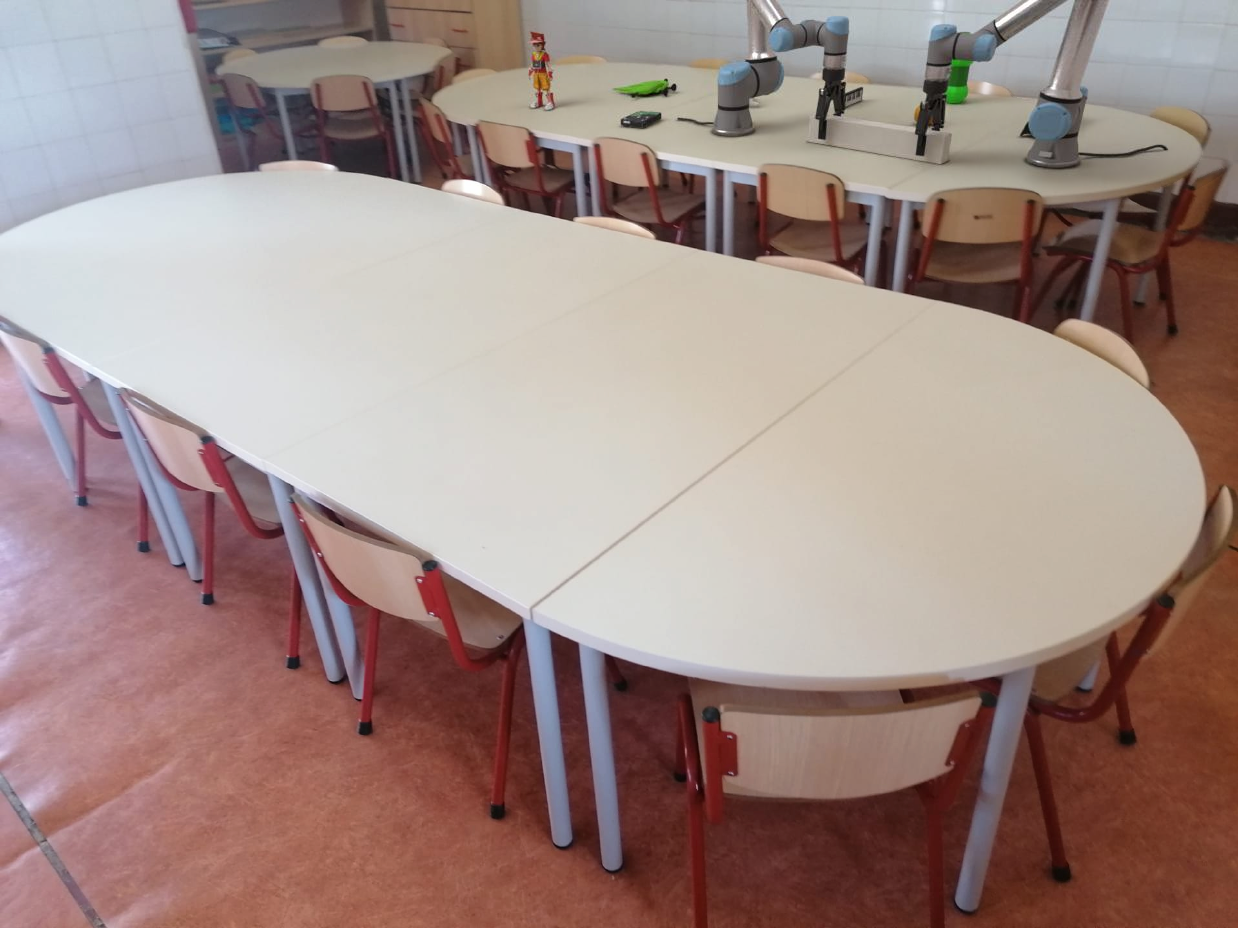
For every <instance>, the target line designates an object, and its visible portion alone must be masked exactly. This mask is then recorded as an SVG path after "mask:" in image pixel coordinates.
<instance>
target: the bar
mask: <svg viewBox="0 0 1238 928" xmlns="http://www.w3.org/2000/svg"><path fill="white" fill-rule="evenodd" d="M815 116H816V113H814V114H812V115H810V116H809V124H808V125H809V128H808V141H807V142H809V143H814V144H820V145H824V146H825V145H827V146H833V147H838V148H842V149H849V150H854V151H861V152H867V153H871V154H873V153H874V154H879V155H884V156H890V157H897V158H901V159H907V160H913V161H919V162H926V163H931V164H937V165H942V164H944V163H946V162H947V161H948V160H949V155H950V148H951V143H952V135H953V133H952V132H947V131H941V130H940V131H934V130H931V129H927V132H926V135H927V139H926V146H925V154H924V156H917V155H915V154H916V147H917V140H918V135H915V129H916V127H913V126H906V125H900V124H893V123H888V122H887V123H886V122H880V121H873V120H866V119H859V118H852V117H846V116H841V117H840V116H833V114H827V117H826V120H827V129H826V140H822V139H818V130H819V120H816V119H815ZM823 117H824V116H823Z"/></svg>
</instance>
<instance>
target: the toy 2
mask: <svg viewBox="0 0 1238 928" xmlns="http://www.w3.org/2000/svg"><path fill="white" fill-rule="evenodd" d="M669 85H670V83H669V79H668V78H664V79H663V80H649V81H644V82H640V83H634V84H629V85H627V86H621V87H613V88H612V89H613V90H616V91H619V92H623V93H627V94H628V93H629V94H631V95H630V96H631V98H632V99H634V98H636V96H637V95H650V94H652V93H654V94H658V93H662V95H663V96H665V97H667V96H668V95H669V90H671V91H672V92H676V91H677V84H676V83H672V84H671V86H669Z"/></svg>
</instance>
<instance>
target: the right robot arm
mask: <svg viewBox="0 0 1238 928" xmlns="http://www.w3.org/2000/svg"><path fill="white" fill-rule="evenodd" d="M1067 1H1068V0H1021V1H1019V2H1017V3H1016V4H1015V5H1014V6H1012V7H1010V8H1009V9H1008V10H1006V11H1005V12H1003V13H1002V14H1000V15H999V16H997V17H996V18H995V19H994V20H991V21H990V22H989V23H987V24H986V25H984V26H983V27H981V28H980V29H978V30H977V31H975V32H973V33H970V34H968V33H959V32H958V30H957V29H958V28H957V25H955V24H950V23H939V24H935V25H934V26H933V27H932V28H931V29H930V35H929V41H928V48H927V55H926V57H927V58H926V63H925V70H924V76H923V77H924V78H925V79H924V80H923V85H922V93H924V94H926V96H925V100H924V101H922V100H921V101H920V102H919V106H920V111H919V116H918V120H917V122H916V125H915V128H916V129H915V135H918V140H917V147H916V154H915V155H917V156H924V154H925V146H926V139H927V135H926V132H927V130H929V129H928V128H929V123H930V119H931V116H932V119H933V123H932V127H931V129H930V130H934V131H941V130H942V129H944V127H945V121H946V106H947V105H946V104H947V101H946V99H947V94H944V93H946V92H947V91H948V84H949V80H948V78H949V76H950V72H951V71H952V70H951V64H952V60H965V61H973V62H977V63H983V62H990V61H992V59H993V58H994V56H995V53H996V50H997V49H998V48H999V47H1000V46H1001V45H1003V44H1004V43H1006V42H1008V41H1009V40H1011V39H1012V38H1013V37H1015V36H1016V35H1018V34H1019V33H1021V32H1022V31H1024V30H1025V29H1027V28H1028V27H1030V26H1031V25H1033V24H1034V23H1036V22H1037V21H1039V20H1041V19H1042V18H1044V17H1045V16H1046V15H1048V14H1049V13H1051V12H1052V11H1054V10H1056V9H1057V8H1058V7H1060V6H1062V5H1063V4H1064V3H1066V2H1067ZM1109 2H1110V0H1074V2H1073V5H1072V8H1071V11H1070V14H1069V16H1068V17H1069V18H1068V20H1067V24H1066V27H1065V29H1064V33H1063V36H1062V40H1061V43H1060V45H1059V49H1058V53H1057V55H1056V59H1055V61H1054V65H1053V68H1052V71H1051V75H1050V78H1049V81H1048V84H1046V85H1044V86H1043V87H1042V88H1041V89H1040V92H1039V95H1038V98H1037V101H1036V105H1035V108H1033V110H1032V111H1031V113H1030V115H1029V118H1028V121H1029V130H1030V132H1031V134H1032V135H1033V136H1032V135H1031V134H1030V135H1031V136H1032V137H1033V138H1034V139H1035V140H1034V142H1033V144H1032V146H1031V148H1030V150H1028V152H1027V155H1026V162H1027V163H1029V164H1030V165H1032V166H1036V167H1039V168H1040V167H1041V168H1047V169H1049V168H1050V169H1067V168H1071V167H1075V166H1077V165H1078V164H1079V161H1080V156H1082V157H1083V156H1084V157H1085V156H1086V157H1103V158H1106V157H1107V158H1110V157H1113V158H1115V157H1126V156H1131V155H1135V154H1138V153H1141V152H1145V151H1149V150H1153V149H1157V148H1161V149H1162V150H1164V151H1168V150H1169V149H1168V147H1167V146H1166V145H1164V144H1154V145H1150V146H1147V147H1143V148H1138V149H1135V150H1132V151H1128V152H1121V153H1120V152H1119V153H1093V152H1081V151H1080V152H1079V140H1078V138H1079V137H1078V136H1079V135H1080V128H1081V124H1082V120H1083V117H1084V112H1085V108H1086V104H1087V100H1088V94H1089V89H1088V87H1086V86H1082V81H1083V78H1084V76H1085V72H1086V69H1087V67H1088V63H1089V60H1090V58H1091V55H1092V52H1093V49H1094V46H1095V43H1096V40H1097V37H1098V34H1099V31H1100V27H1101V25H1102V22H1103V19H1104V16H1105V13H1106V10H1107V7H1108V5H1109Z"/></svg>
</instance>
